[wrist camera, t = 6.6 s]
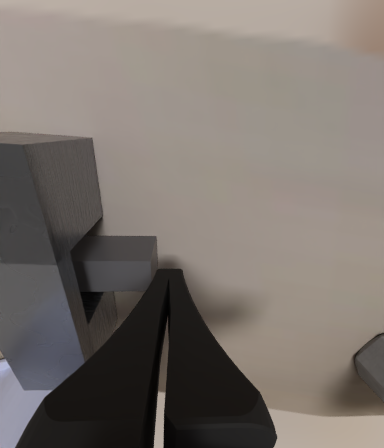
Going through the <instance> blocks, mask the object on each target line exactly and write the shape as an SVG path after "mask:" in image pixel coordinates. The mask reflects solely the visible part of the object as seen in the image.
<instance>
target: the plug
mask: <svg viewBox="0 0 384 448" xmlns="http://www.w3.org/2000/svg"><path fill="white" fill-rule="evenodd" d="M70 254H71V258H72V262H73V266H74V270H75V274H76V278H77V283H78V287H79V291H80V292H106V291H146V290H147V289H148V287H149V285H150V283H151V282H152V280H153V278H154V276H155V274H156V270H157V264H158V257H157V238H156V236H83V237H82V239H81V240H80V241H79V242H78V243H77V244H76V245H75V246H74V247H73V248H72V249H71V250H70Z"/></svg>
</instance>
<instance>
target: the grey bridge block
mask: <svg viewBox="0 0 384 448" xmlns="http://www.w3.org/2000/svg"><path fill="white" fill-rule="evenodd" d="M102 216H103V214H102V207H101V199H100V192H99V185H98V178H97V171H96V164H95V157H94V150H93V143H92V138H87V137H73V136H60V135H46V134H33V133H19V132H0V351H1V352H2V354H3V356H4V357H5V359H6V361H7V362H8V364H9V366H10V368H11V369H12V371H13V373H14V374H15V376H16V378H17V380H18V381H19V383H20V385H21V386H22V388H23V390H24V391H29V390H54V389H55V388H56V387H57V386H58V385H60V384H61V383H62V382H63V381H64V380H65V379H67V378H68V377H69V376H70V375H71V374H72V373H74V372H75V371H76V370H77V369H78V368H79V367H80V366H81V365H83V364H84V363H85V362H86V361H87V360H88V359H89V358H90V357H91V356H92V355H93V354H94V353H95V352H96V351H97V350H98V349H99V348H100V347H101V346H102V345H103V344H104V343H105V342H106V341H107V340H108V339H109V338H110V337H111V335H112V332H113V329H114V326H115V323H116V321H117V313H116V306H115V299H114V291H106V292H80V291H79V287H78V283H77V278H76V274H75V270H74V266H73V262H72V258H71V254H70V250H71V249H72V248H73V247H74V246H75V245H76V244H77V243H78V242H79V241H80V240H81V239H82V237H83V236H84V235H85V234H86V233H87V232H88V231H89V230H90V229H91V228H92V227H93V225H94V224H95V223H96V222H97V221H98V220H99V219H100V218H101V217H102Z"/></svg>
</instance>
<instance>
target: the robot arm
mask: <svg viewBox="0 0 384 448" xmlns="http://www.w3.org/2000/svg"><path fill="white" fill-rule="evenodd" d="M167 317H168V333H169V351H168V366H167V380H166V395H165V409H164V448H273V447H274V445H275V443H276V440H277V435H276V431H275V427H274V424H273V421H272V419H271V416H270V414H269V412H268V409H267V407H266V404H265V402H264V400H263V398H262V396H261V394H260V392H259V391H258V390H257V389H256V388H255V386H254V385H253V384H252V383H251V382H250V381H249V380H248V379H247V378H246V377H245V375H244V374H243V373H242V372H241V371H240V370H239V369H238V367H237V366H236V365H235V364H234V363H233V361H232V360H231V359H230V358H229V357H228V355H227V354H226V353H225V351H224V350H223V349H222V347H221V346H220V345H219V343H218V342H217V341H216V339H215V338H214V336H213V335H212V333H211V332H210V330H209V329H208V327H207V325H206V324H205V322H204V321H203V319H202V317H201V315H200V314H199V312H198V310H197V308H196V306H195V304H194V302H193V300H192V297H191V295H190V293H189V291H188V288H187V285H186V282H185V279H184V276H183V271H182V270H181V269H158V270H157V271H156V274H155V276H154V278H153V280H152V282H151V283H150V285H149V287H148V289H147V290H146V292H145V293H144V295H143V297H142V298H141V300H140V301H139V302H138V304H137V305H136V307H135V308H134V309H133V311H132V312H131V313H130V315H129V316H128V317H127V318H126V320H125V321H124V322H123V323H122V324H121V326H120V327H119V328H118V329H117V330H116V331H115V332H114V333H113V335H112V336H111V337H110V338H109V339H108V340H107V341H106V342H105V343H104V344H103V345H102V346H101V347H100V348H99V349H98V350H97V351H96V352H95V353H94V354H93V355H92V356H91V357H90V358H89V359H88V360H87V361H86V362H85V363H84V364H83V365H81V366H80V367H79V368H78V369H77V370H76V371H75V372H74V373H72V374H71V375H70V376H69V377H68V378H67V379H65V380H64V381H63V382H62V383H61V384H60V385H58V386H57V387H56V388H55V389H54V390H29V391H24V390H23V388H22V386H21V385H20V383H19V381H18V380H17V378H16V376H15V374H14V373H13V371H12V369H11V368H10V366H9V364H8V362H7V361H6V359H2V360H0V448H154V435H155V422H156V408H157V396H158V384H159V371H160V362H161V354H162V348H163V342H164V336H165V330H166V323H167Z"/></svg>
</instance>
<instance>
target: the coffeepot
mask: <svg viewBox="0 0 384 448" xmlns="http://www.w3.org/2000/svg"><path fill="white" fill-rule="evenodd" d="M355 365H356V368H357V370H358V375H359V376H360V377H361V378H362V379H363V380H364V381H365V382H366V383H367V385H368V386H369V387H370V388H371V389H372V390H373V391H374V392H375V393H376V394H377V396H378V397H379V398H380V399H381V400H382V401H383V402H384V333H383V334H381V335H379V336H377V337H375V338H374V339H372V340H371V341H369V342H368V343H367V344H365V345H364V346H363V347H362V348H361V349H360V351H359V352H358V353H357V355H356V358H355Z"/></svg>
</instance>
